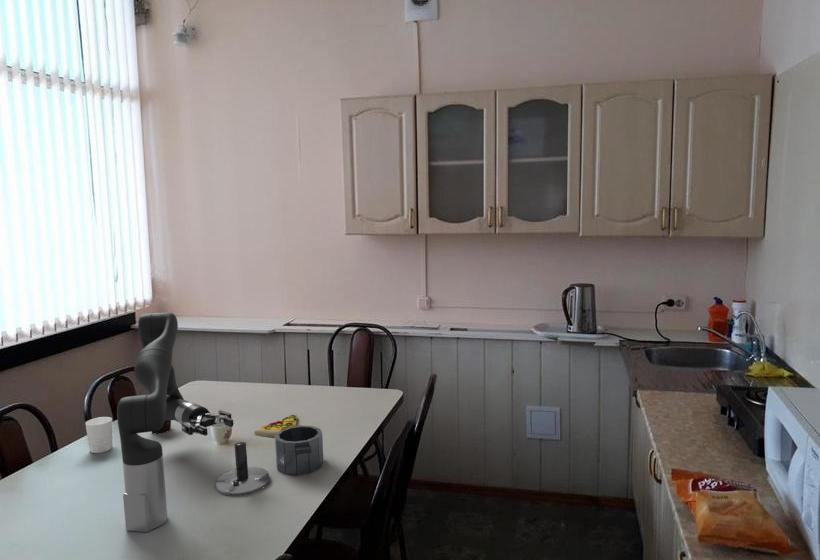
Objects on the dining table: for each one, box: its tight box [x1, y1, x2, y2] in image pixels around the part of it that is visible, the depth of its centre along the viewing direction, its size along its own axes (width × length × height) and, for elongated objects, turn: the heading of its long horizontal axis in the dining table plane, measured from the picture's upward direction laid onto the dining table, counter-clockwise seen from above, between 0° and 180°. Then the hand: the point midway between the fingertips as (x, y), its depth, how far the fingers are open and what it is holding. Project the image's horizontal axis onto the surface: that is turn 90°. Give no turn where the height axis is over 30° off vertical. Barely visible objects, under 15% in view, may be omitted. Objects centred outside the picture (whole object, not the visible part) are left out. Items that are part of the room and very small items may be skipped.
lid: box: [215, 441, 271, 497], centre depth 170 cm, size 15×15×12 cm
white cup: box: [85, 416, 113, 454], centre depth 197 cm, size 8×8×10 cm
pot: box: [274, 424, 325, 476], centre depth 181 cm, size 20×14×10 cm
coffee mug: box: [151, 420, 172, 435], centre depth 215 cm, size 12×9×10 cm
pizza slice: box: [253, 414, 298, 438], centre depth 215 cm, size 16×21×3 cm
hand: (219, 427), depth 176 cm, fingers open, 8 cm apart
